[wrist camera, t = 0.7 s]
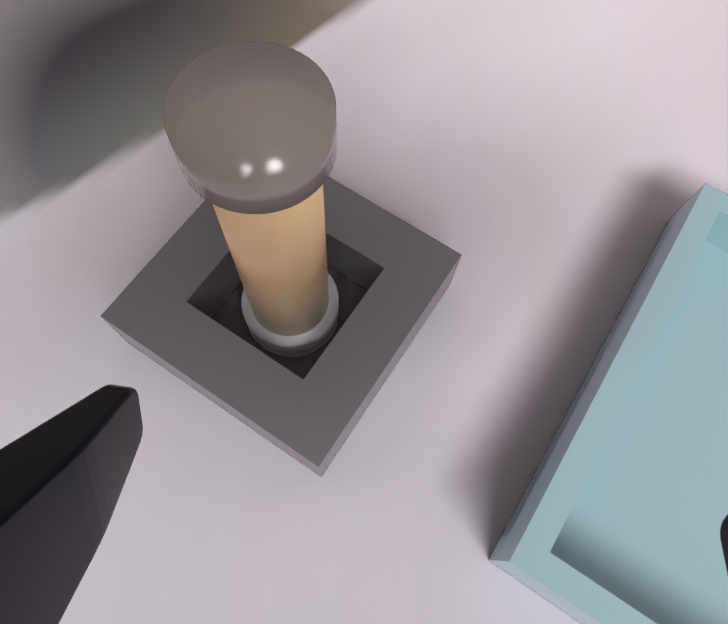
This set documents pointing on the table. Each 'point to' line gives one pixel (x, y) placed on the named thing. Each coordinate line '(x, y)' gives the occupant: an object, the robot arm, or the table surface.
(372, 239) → the socket block
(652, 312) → the parts tray
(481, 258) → the table surface
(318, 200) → the fuse
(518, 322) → the table surface
